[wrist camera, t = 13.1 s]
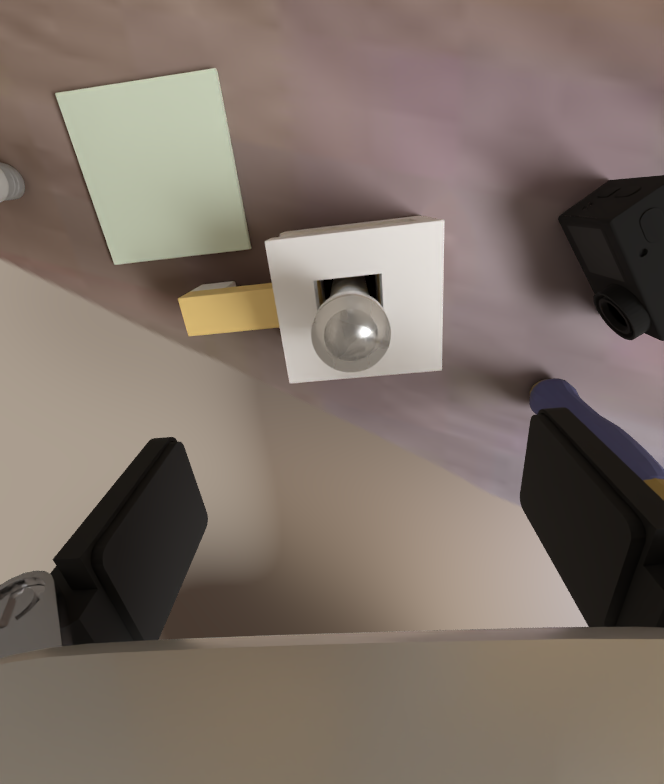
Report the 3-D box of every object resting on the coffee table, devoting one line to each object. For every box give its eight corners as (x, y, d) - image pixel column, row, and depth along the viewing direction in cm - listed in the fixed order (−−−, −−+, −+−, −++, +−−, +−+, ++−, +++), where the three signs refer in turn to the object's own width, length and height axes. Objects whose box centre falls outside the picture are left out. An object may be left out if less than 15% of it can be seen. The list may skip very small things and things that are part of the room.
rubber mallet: (470, 383, 37) (781, 846, 11) (530, 323, 35) (1163, 749, 8) (555, 448, 40) (966, 937, 14) (617, 398, 38) (1292, 891, 11)
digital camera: (541, 226, 31) (590, 232, 25) (608, 178, 29) (679, 172, 23) (592, 324, 35) (646, 352, 28) (654, 287, 33) (727, 307, 27)
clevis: (191, 242, 33) (144, 255, 25) (420, 215, 31) (444, 220, 23) (219, 352, 37) (186, 392, 29) (421, 333, 35) (441, 370, 28)
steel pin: (321, 262, 33) (306, 300, 20) (372, 256, 33) (389, 291, 20) (327, 312, 35) (316, 375, 22) (375, 308, 34) (392, 368, 22)
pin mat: (59, 94, 28) (54, 93, 28) (217, 70, 27) (215, 68, 27) (117, 263, 34) (114, 264, 33) (251, 248, 33) (250, 249, 32)
